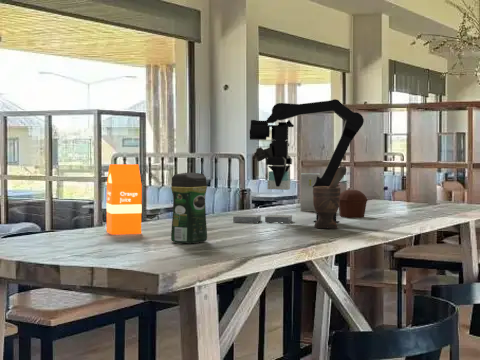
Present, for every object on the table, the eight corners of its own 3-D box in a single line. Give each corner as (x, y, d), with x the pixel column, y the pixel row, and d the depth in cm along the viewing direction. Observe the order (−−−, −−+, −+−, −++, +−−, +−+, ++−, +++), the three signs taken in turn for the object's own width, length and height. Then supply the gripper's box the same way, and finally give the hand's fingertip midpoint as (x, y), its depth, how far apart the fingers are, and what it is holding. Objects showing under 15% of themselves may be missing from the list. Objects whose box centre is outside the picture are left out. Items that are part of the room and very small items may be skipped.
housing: (290, 189, 270) (290, 169, 270) (287, 189, 265) (288, 169, 265) (269, 188, 271) (270, 168, 271) (267, 189, 267) (267, 169, 266)
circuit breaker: (319, 208, 327) (319, 172, 326) (319, 211, 313) (319, 174, 312) (301, 208, 328) (301, 172, 327) (300, 211, 314) (300, 173, 313)
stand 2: (291, 221, 272) (291, 215, 272) (288, 223, 264) (288, 217, 264) (269, 220, 273) (269, 214, 273) (265, 222, 266) (265, 216, 266)
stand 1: (260, 220, 271) (260, 215, 271) (256, 223, 263) (256, 217, 263) (238, 220, 273) (238, 214, 273) (233, 222, 265) (233, 216, 265)
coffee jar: (188, 239, 216) (189, 171, 215) (211, 241, 211) (212, 172, 210) (165, 242, 208) (165, 172, 207) (188, 245, 203) (189, 173, 202)
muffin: (373, 217, 289) (373, 190, 289) (346, 218, 285) (347, 190, 285) (356, 215, 300) (357, 188, 300) (331, 215, 296) (331, 189, 296)
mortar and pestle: (352, 228, 250) (353, 165, 249) (342, 230, 243) (343, 166, 242) (319, 226, 256) (320, 164, 255) (308, 228, 248) (309, 165, 247)
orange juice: (106, 231, 232) (106, 164, 231) (135, 230, 235) (136, 164, 234) (111, 234, 225) (111, 164, 224) (141, 233, 228) (142, 164, 227)
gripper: (261, 140, 278) (260, 184, 279) (251, 139, 260) (250, 186, 261) (292, 140, 276) (291, 185, 277) (284, 140, 258) (283, 187, 258)
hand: (279, 186), depth 268 cm, fingers closed on housing, 5 cm apart
